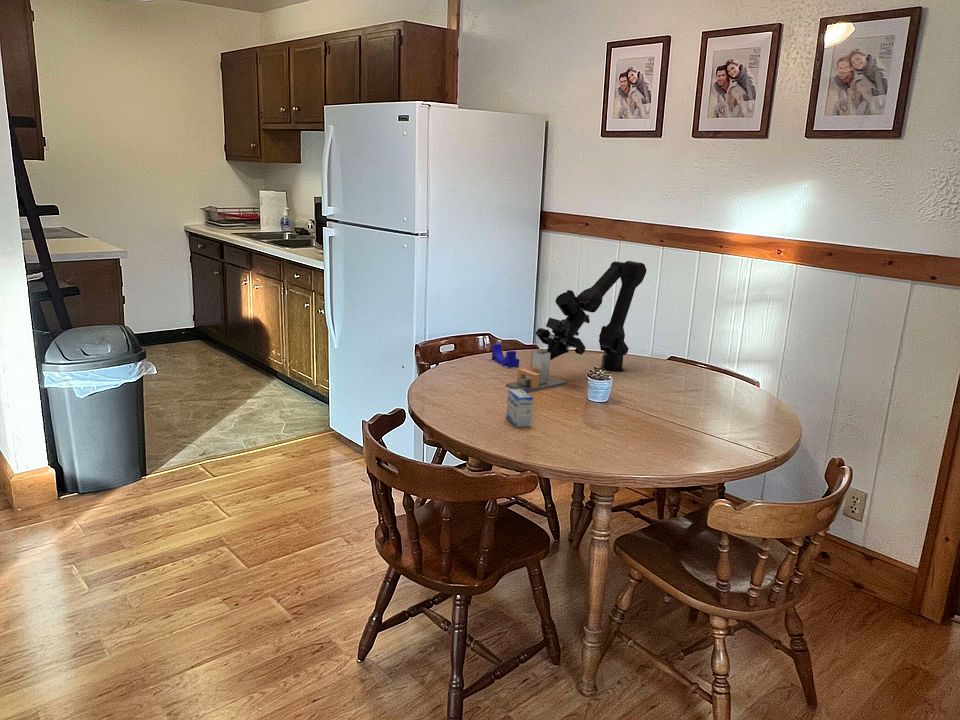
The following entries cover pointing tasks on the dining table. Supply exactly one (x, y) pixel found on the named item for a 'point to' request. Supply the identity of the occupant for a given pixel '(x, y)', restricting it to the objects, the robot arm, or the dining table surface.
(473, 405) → the dining table surface
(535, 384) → the lug
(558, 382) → the grey flat plate
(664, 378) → the dining table surface
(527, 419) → the medicine box
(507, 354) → the cable clip
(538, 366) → the latch
